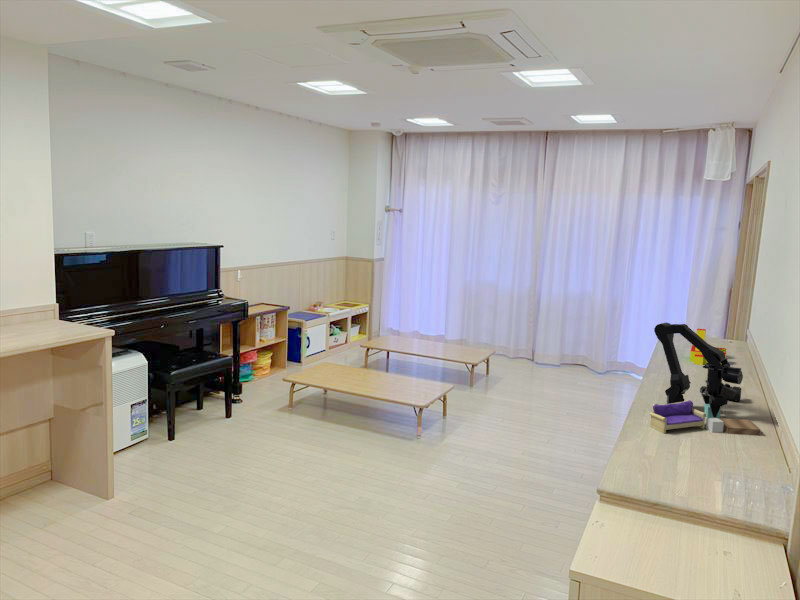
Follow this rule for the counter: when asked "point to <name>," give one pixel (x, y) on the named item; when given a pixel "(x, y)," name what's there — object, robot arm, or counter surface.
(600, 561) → the counter surface
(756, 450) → the counter surface
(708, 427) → the grey cube
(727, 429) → the base block
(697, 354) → the building blocks toy
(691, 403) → the toy sofa
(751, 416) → the counter surface
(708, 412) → the teal block
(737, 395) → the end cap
